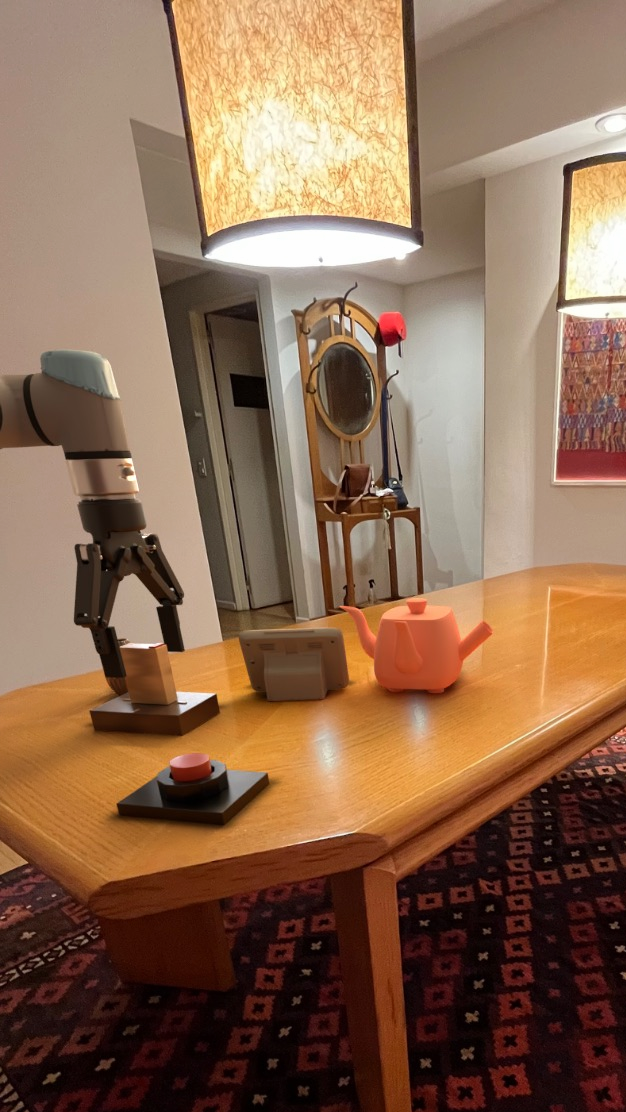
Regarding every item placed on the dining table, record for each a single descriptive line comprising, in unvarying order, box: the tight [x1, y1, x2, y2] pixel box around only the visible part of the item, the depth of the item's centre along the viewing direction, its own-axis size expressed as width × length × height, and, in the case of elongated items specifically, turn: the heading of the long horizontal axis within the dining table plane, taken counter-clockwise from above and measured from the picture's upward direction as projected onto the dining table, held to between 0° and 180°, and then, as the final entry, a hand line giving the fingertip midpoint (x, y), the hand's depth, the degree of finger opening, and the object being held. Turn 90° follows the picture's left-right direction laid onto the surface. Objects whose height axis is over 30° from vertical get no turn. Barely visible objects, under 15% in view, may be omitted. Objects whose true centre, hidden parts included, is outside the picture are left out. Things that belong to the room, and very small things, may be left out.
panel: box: [88, 691, 221, 737], centre depth 98 cm, size 14×10×3 cm
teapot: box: [339, 597, 495, 694], centre depth 109 cm, size 18×18×14 cm
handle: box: [120, 642, 178, 705], centre depth 95 cm, size 6×2×8 cm, turn 77°
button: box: [169, 752, 212, 781], centre depth 71 cm, size 4×4×2 cm
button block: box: [116, 759, 270, 826], centre depth 72 cm, size 12×10×4 cm
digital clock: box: [238, 627, 350, 702], centre depth 106 cm, size 16×9×11 cm, turn 81°
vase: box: [103, 637, 131, 696], centre depth 109 cm, size 7×7×9 cm
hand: (147, 663), depth 94 cm, fingers open, 13 cm apart
